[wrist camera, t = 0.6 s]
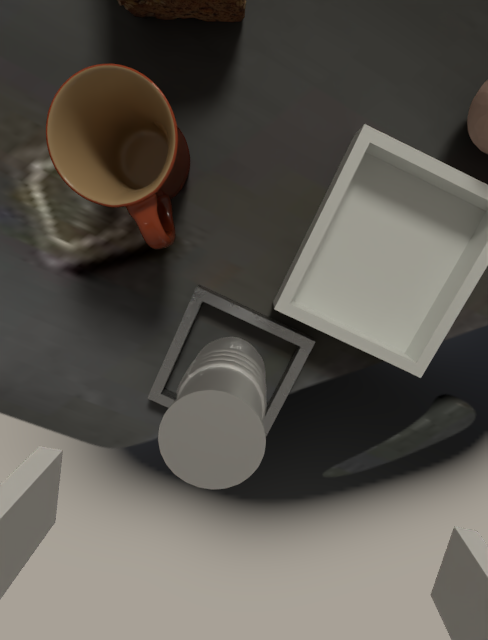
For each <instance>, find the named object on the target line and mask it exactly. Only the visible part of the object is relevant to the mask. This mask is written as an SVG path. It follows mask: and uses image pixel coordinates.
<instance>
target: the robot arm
mask: <svg viewBox="0 0 488 640" xmlns="http://www.w3.org/2000/svg"><path fill="white" fill-rule="evenodd" d="M62 452H63V451H62V450H59V449H53V448H48V447H43V446H39V447H38V448H37V449H36V450H35V451H34V452H33V453H32V454H31V455H30V456H29V457H28V458H27V459H26V460H25V461H24V462H23V463H22V464H21V465H20V466H19V467H18V468H16V470H14V471H13V472H12V473H11V474H10V475H9V476H8V477H7V478H6V479H5V480H4V481H3V482H2V483H1V484H0V599H1V598H2V596H3V595H4V593H5V592H6V590H7V589H8V588H9V586H10V585H11V584H12V582H13V581H14V579H15V578H16V576H17V575H18V574H19V572H20V571H21V569H22V568H23V567H24V565H25V564H26V562H27V561H28V560H29V558H30V557H31V555H32V554H33V553H34V551H35V550H36V548H37V547H38V546H39V544H40V543H41V541H42V540H43V539H44V537H45V536H46V534H47V533H48V531H49V530H50V529H51V527H52V526H53V524H54V523H55V520H56V510H57V500H58V490H59V481H60V472H61V462H62ZM431 597H432V599H433V601H434V603H435V605H436V607H437V609H438V612H439V614H440V616H441V618H442V620H443V622H444V625H445V627H446V629H447V631H448V633H449V635H450V637H451V640H488V545H487V544H486V542H485V541H484V540H483V538H482V537H481V536H480V534H479V533H478V531H475V530H470V529H465V528H460V527H454V529H453V532H452V535H451V538H450V540H449V543H448V546H447V549H446V552H445V555H444V558H443V561H442V564H441V566H440V569H439V572H438V575H437V578H436V581H435V584H434V587H433V590H432V593H431Z"/></svg>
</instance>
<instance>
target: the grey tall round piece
mask: <svg viewBox="0 0 488 640" xmlns="http://www.w3.org/2000/svg"><path fill="white" fill-rule="evenodd" d="M265 375H266V373H265V365H264V362H263V360H262V358H261V356H260V354H259V353H258V352H257V350H256V349H255V348H254V347H253V346H252V345H251V344H250V343H248V342H247V341H245V340H243V339H240V338H237V337H224V338H221V339H218V340H215V341H213V342H210V343H209V344H208V345H206V346H205V347H204V348H203V349H202V350H201V351H200V352H199V354H198V355H197V357H196V358H195V359H194V361H193V362H192V363H191V365H190V366H189V368H188V370H187V371H186V373H185V375H184V377H183V378H182V380H181V382H180V384H179V386H178V389H177V391H176V392H177V399H176V401H174V402H173V403H172V405H171V406H170V407H169V409H168V410H167V411H166V412H165V414H164V417H163V419H162V421H161V424H160V426H159V435H158V442H159V447H160V452H161V455H162V457H163V459H164V461H165V463H166V465H167V466H168V467H169V468H170V469H171V470H172V472H173V473H174V474H175V475H176V476H178V477H179V478H181V479H182V480H183V481H185V482H186V483H189V484H191V485H194V486H196V487H199V488H205V489H212V490H213V489H224V488H228V487H231V486H234V485H237V484H239V483H241V482H242V481H244V480H245V479H247V478H248V477H250V476H251V475H252V474H253V472H254V471H255V470H256V469H257V467H258V466H259V464H260V462H261V460H262V458H263V456H264V451H265V445H266V437H265V429H264V425H263V423H262V422H263V419H264V417H265V412H266V381H265Z"/></svg>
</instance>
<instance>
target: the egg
mask: <svg viewBox="0 0 488 640" xmlns="http://www.w3.org/2000/svg"><path fill="white" fill-rule="evenodd" d="M467 125H468V132H469V136H470V138H471V140H472V142H473V143H474V144H475V145H476V146H477V147H478V148H479V149H480V150H481V151H482V152H484V153H486V154H488V80H487V81H486V82H485V83H484V84H483V85H482V87H481V88H480V89H479V91H478V92H477V94H476V95H475V97H474V99H473V100H472V103H471V105H470V108H469V112H468V118H467Z"/></svg>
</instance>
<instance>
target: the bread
mask: <svg viewBox="0 0 488 640" xmlns="http://www.w3.org/2000/svg"><path fill="white" fill-rule="evenodd" d="M117 1H118V2H119V4H120V6H121V5H124V7H125V9H126V10H128V11H130V12H131V13H132V14H133V15H134V16H136V17H141V18H147V17H150V16H154V17H155V18H158V19H163V20H171V19H176V18H179V17H180V18H183V19H185V18H197V19H200V20H204V21H225V22H236V21H241V20H242V19H243V18H244V16H245V6H246V0H117Z"/></svg>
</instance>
